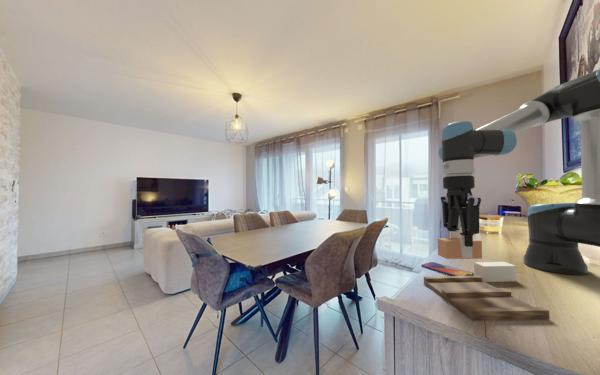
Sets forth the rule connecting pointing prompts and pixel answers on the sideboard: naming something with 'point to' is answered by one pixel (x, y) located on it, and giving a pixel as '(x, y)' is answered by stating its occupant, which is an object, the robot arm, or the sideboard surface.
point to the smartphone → (447, 269)
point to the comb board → (483, 299)
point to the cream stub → (495, 271)
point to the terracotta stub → (457, 248)
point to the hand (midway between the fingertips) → (460, 254)
